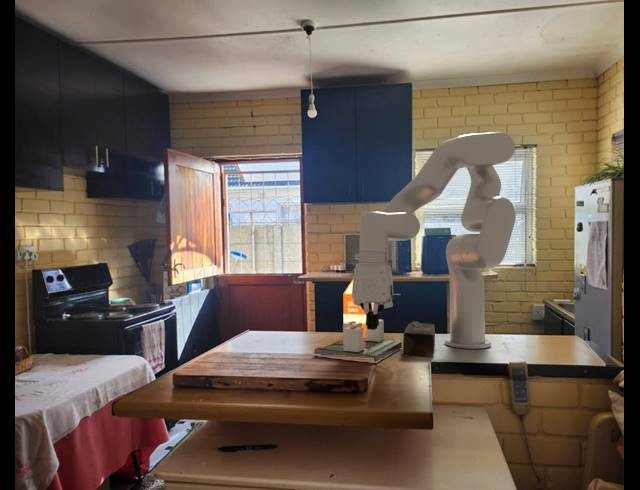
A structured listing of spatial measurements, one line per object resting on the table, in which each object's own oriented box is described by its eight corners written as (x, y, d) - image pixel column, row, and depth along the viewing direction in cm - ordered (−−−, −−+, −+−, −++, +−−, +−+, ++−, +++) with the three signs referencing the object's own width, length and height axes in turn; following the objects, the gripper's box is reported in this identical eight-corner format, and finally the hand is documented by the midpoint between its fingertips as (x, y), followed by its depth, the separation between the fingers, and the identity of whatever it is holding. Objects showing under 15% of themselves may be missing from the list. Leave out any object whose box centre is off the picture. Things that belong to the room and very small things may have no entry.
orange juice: (375, 338, 142) (374, 273, 142) (369, 344, 134) (368, 275, 134) (350, 337, 145) (349, 273, 145) (343, 343, 136) (342, 275, 136)
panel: (346, 343, 136) (346, 335, 136) (401, 348, 128) (401, 340, 128) (314, 356, 119) (314, 347, 119) (375, 364, 111) (375, 354, 111)
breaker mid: (348, 341, 127) (348, 320, 127) (362, 342, 125) (361, 321, 125) (343, 343, 124) (343, 322, 124) (356, 345, 122) (356, 323, 122)
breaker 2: (370, 338, 131) (370, 317, 131) (383, 339, 129) (383, 318, 129) (365, 340, 128) (365, 319, 128) (379, 341, 126) (378, 320, 126)
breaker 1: (349, 347, 119) (349, 325, 119) (363, 349, 117) (363, 326, 117) (343, 350, 116) (343, 327, 116) (358, 352, 114) (357, 328, 114)
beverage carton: (435, 343, 135) (435, 321, 135) (434, 359, 117) (434, 333, 117) (408, 342, 137) (408, 320, 137) (402, 357, 119) (402, 332, 119)
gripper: (341, 258, 122) (340, 328, 121) (395, 259, 114) (394, 333, 114) (353, 258, 128) (352, 324, 128) (405, 259, 121) (404, 329, 121)
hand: (372, 328), depth 121 cm, fingers closed
